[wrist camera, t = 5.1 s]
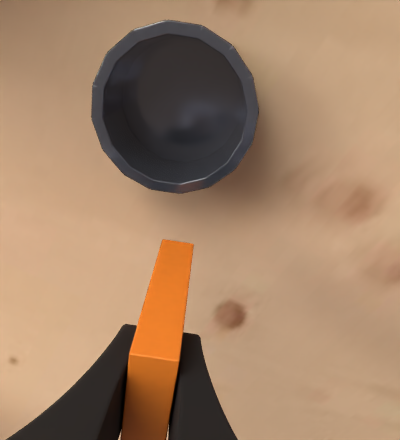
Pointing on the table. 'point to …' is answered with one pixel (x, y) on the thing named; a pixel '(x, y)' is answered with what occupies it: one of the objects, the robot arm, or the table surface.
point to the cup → (174, 106)
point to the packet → (157, 346)
